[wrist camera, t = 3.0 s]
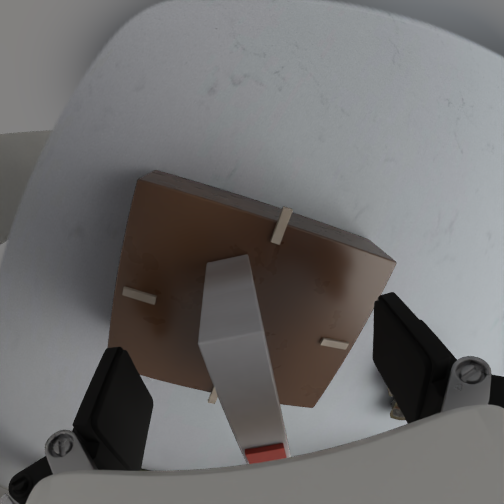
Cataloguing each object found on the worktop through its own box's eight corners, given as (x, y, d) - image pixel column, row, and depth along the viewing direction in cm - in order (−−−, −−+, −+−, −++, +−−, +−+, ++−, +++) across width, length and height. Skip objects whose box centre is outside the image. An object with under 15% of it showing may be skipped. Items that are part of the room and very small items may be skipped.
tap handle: (206, 262, 12) (196, 349, 7) (247, 253, 12) (264, 337, 7) (239, 377, 14) (247, 470, 9) (273, 370, 14) (292, 462, 9)
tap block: (119, 338, 16) (104, 375, 13) (158, 156, 13) (140, 163, 10) (298, 380, 18) (309, 417, 16) (374, 229, 15) (405, 251, 12)
